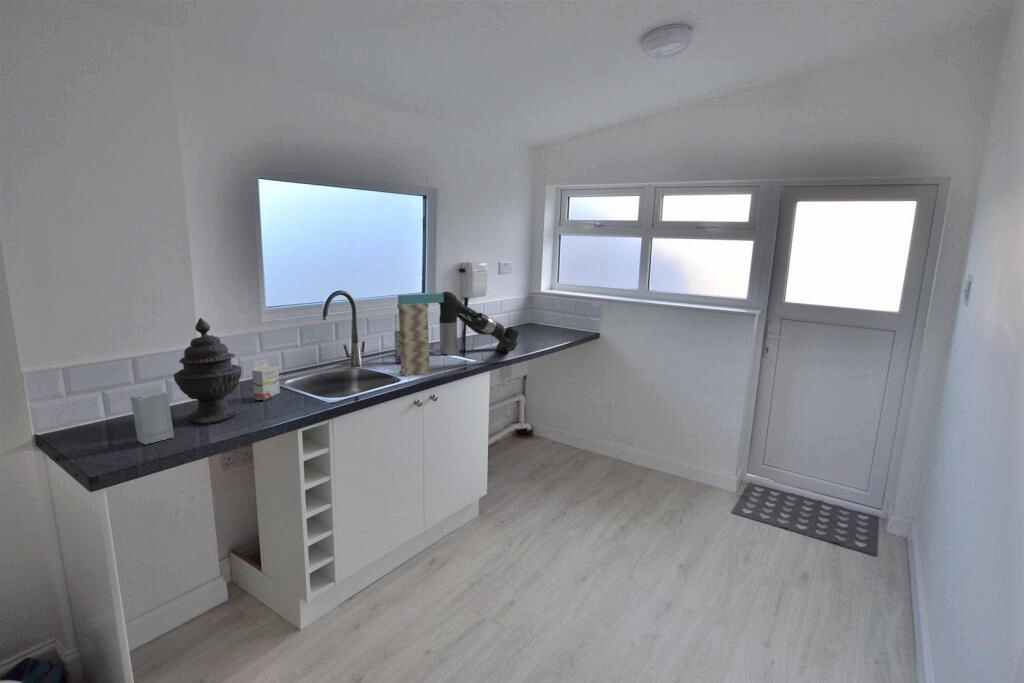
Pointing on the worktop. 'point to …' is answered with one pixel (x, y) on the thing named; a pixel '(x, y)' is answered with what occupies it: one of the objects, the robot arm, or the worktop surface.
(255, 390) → the ink cartridge box
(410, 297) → the rod
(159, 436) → the skincare box
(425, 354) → the beige zigzag patterned block
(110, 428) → the worktop surface
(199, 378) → the decorative urn
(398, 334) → the candy bar box
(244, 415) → the worktop surface
